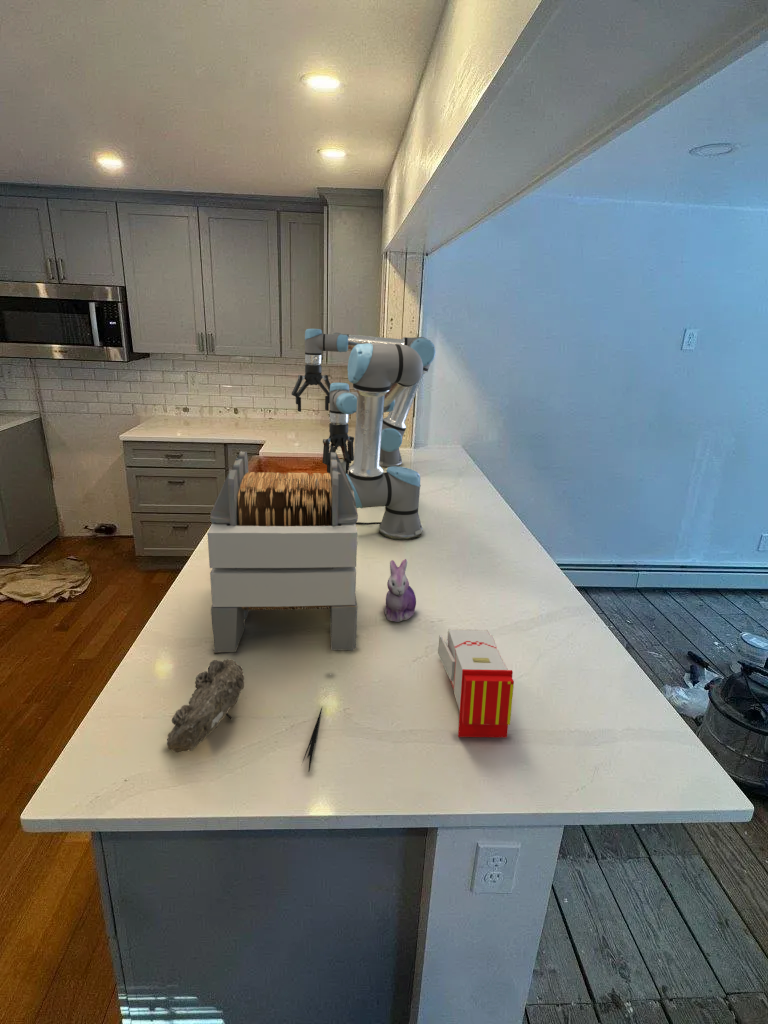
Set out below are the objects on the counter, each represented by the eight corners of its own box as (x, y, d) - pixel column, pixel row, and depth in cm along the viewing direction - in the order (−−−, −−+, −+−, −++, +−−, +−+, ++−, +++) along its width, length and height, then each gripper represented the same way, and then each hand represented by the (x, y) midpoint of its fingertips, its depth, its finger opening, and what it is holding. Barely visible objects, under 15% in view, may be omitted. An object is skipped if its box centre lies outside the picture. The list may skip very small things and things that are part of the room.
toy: (488, 613, 130) (523, 677, 101) (484, 667, 133) (517, 744, 104) (435, 612, 130) (455, 676, 101) (432, 666, 133) (451, 743, 103)
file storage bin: (232, 584, 158) (225, 442, 144) (349, 583, 162) (353, 444, 148) (211, 655, 127) (198, 480, 113) (357, 651, 130) (362, 482, 117)
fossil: (192, 660, 117) (244, 628, 112) (224, 691, 120) (276, 661, 115) (142, 746, 98) (202, 712, 93) (182, 779, 101) (242, 748, 96)
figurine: (392, 627, 141) (395, 572, 136) (374, 608, 149) (376, 556, 144) (425, 619, 145) (429, 566, 140) (405, 601, 154) (408, 550, 149)
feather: (331, 679, 122) (336, 673, 122) (307, 777, 96) (313, 769, 95) (324, 675, 122) (329, 669, 121) (298, 772, 95) (304, 764, 95)
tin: (336, 492, 228) (336, 463, 224) (327, 488, 232) (327, 460, 228) (348, 490, 232) (349, 461, 228) (339, 486, 236) (339, 457, 232)
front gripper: (353, 419, 231) (352, 473, 239) (312, 423, 220) (312, 480, 228) (364, 422, 226) (362, 478, 234) (323, 426, 214) (322, 485, 222)
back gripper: (289, 365, 250) (290, 413, 257) (341, 364, 261) (340, 411, 268) (284, 363, 256) (285, 410, 264) (335, 363, 267) (335, 408, 274)
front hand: (338, 479), depth 231 cm, fingers closed on tin, 6 cm apart
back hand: (313, 410), depth 266 cm, fingers open, 13 cm apart
